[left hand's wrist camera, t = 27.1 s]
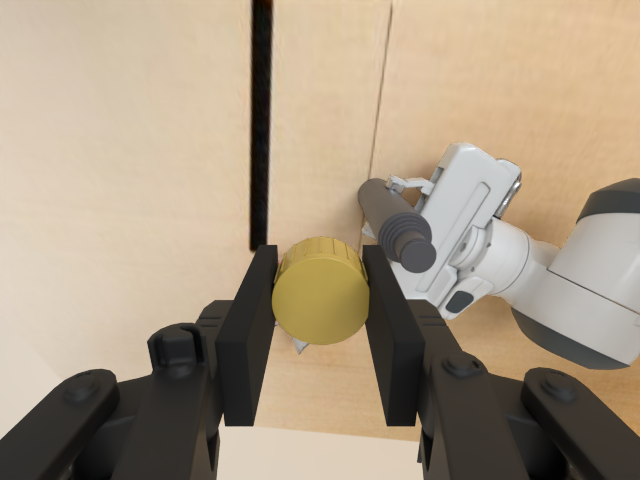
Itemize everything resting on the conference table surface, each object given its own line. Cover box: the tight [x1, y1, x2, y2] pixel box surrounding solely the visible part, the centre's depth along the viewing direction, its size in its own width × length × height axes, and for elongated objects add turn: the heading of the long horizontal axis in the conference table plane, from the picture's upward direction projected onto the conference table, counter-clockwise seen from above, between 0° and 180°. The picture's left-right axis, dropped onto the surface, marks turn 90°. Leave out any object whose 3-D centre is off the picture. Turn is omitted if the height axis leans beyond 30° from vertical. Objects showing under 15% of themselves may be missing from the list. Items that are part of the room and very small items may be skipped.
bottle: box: [358, 178, 437, 273], centre depth 35 cm, size 4×5×22 cm
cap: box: [272, 236, 370, 345], centre depth 14 cm, size 4×4×2 cm
